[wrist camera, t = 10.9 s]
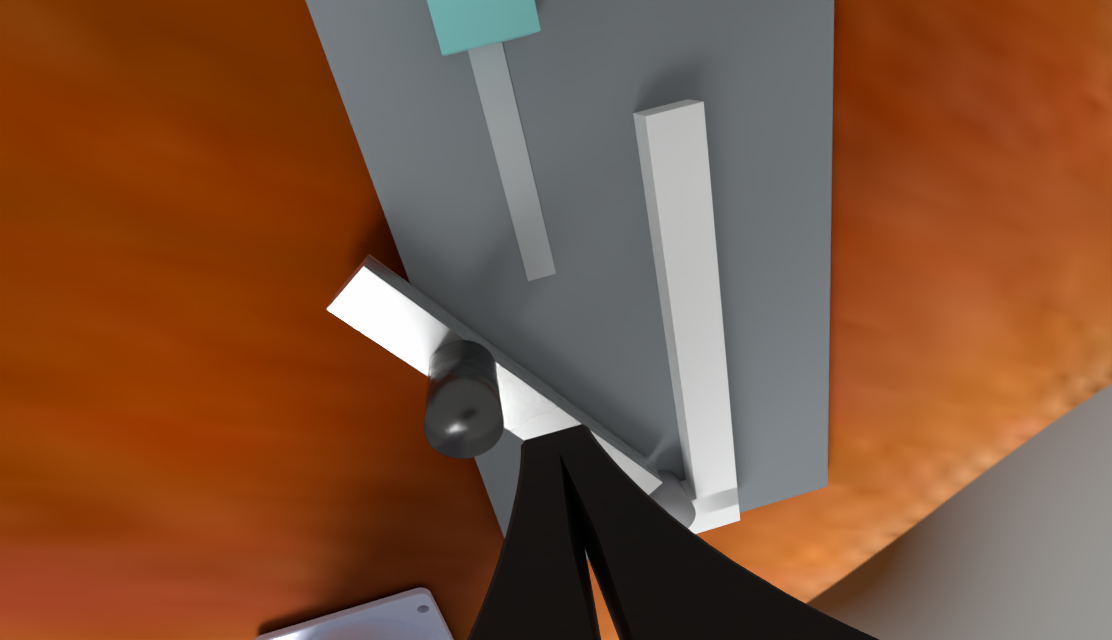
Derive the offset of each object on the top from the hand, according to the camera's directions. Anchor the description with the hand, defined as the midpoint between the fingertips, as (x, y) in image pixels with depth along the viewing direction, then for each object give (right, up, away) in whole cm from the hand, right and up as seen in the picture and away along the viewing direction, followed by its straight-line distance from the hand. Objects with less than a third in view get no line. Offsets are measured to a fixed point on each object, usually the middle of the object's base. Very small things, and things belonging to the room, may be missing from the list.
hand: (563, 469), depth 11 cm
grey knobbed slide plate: (+3, +4, +9) cm, 10 cm away
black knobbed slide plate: (-2, 0, +9) cm, 9 cm away
